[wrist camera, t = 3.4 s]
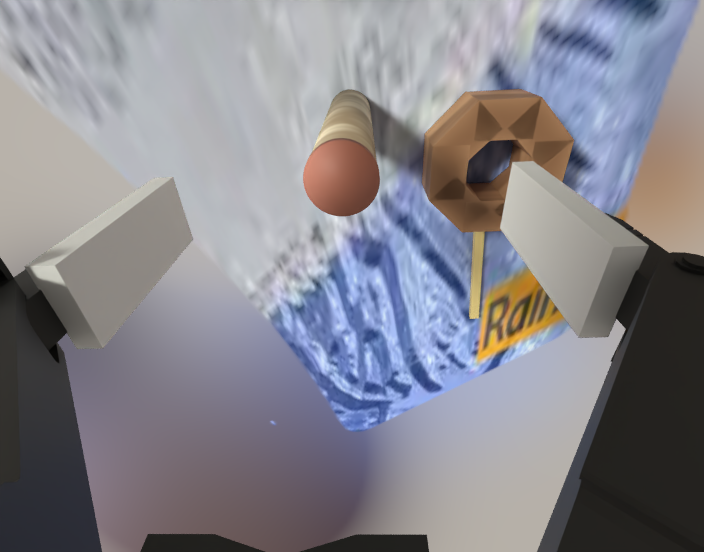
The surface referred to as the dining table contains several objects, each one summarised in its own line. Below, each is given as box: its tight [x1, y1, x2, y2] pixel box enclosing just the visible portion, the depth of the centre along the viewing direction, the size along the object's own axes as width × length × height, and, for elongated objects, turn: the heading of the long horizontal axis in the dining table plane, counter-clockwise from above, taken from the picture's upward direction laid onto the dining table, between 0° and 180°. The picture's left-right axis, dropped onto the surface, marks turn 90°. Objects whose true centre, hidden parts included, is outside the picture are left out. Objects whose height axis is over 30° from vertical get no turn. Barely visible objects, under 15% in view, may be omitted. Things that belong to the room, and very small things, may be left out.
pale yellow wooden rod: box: [469, 232, 485, 319], centre depth 37 cm, size 11×1×1 cm, turn 8°
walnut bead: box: [422, 89, 574, 232], centre depth 29 cm, size 10×10×4 cm
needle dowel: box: [303, 90, 380, 216], centre depth 22 cm, size 3×3×16 cm
